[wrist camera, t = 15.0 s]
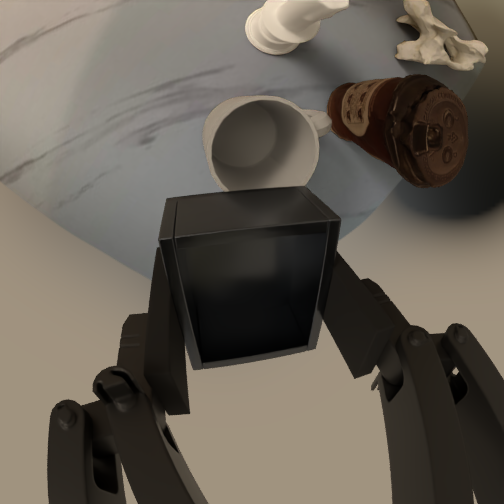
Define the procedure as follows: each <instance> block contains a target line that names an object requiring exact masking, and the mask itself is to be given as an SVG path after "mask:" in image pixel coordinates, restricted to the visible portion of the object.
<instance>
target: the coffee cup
mask: <svg viewBox="0 0 504 504" xmlns="http://www.w3.org/2000/svg"><path fill="white" fill-rule="evenodd" d="M327 114H328V116H329V117H330V118H331V120H332V126H331V131H332V132H333V133H335V134H337V135H338V136H339V138H342V139H344V140H346V141H353V142H354V143H356V144H357V145H359V146H360V147H361V148H362V149H364V150H365V151H366V152H367V153H368V154H370V155H371V156H373V157H375V158H377V159H379V160H381V161H383V162H385V163H387V164H388V165H390V166H391V167H393V168H395V169H396V170H397V172H398V173H399V174H400V175H401V176H402V177H403V178H404V179H405V180H406V181H408V182H410V183H411V184H412V185H414V186H416V187H420V188H428V187H433V188H435V187H440V186H443V185H445V184H447V183H448V182H450V181H451V180H452V179H453V178H454V177H455V176H456V175H457V174H458V172H459V170H460V169H461V167H462V165H463V163H464V159H465V156H466V152H467V147H468V118H467V117H468V116H467V112H466V109H465V106H464V104H463V103H462V101H461V99H460V98H459V97H458V96H457V95H456V94H454V92H453V91H452V90H449V89H448V88H447V87H446V86H445V85H444V84H442V83H440V82H439V81H437V80H435V79H433V78H431V77H430V76H427V75H421V74H413V75H409V76H406V77H405V78H400V77H395V78H387V79H375V80H368V81H362V82H360V83H357V84H356V83H346V84H343V85H341V86H339V87H338V88H337V89H335V90H334V91H333V92H332V94H331V96H330V98H329V101H328V105H327Z"/></svg>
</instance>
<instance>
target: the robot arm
mask: <svg viewBox="0 0 504 504" xmlns="http://www.w3.org/2000/svg"><path fill="white" fill-rule="evenodd" d="M323 320H324V322H325V324H326V326H327V328H328V330H329V331H330V333H331V335H332V337H333V339H334V341H335V343H336V345H337V346H338V348H339V350H340V352H341V354H342V356H343V358H344V360H345V361H346V363H347V365H348V367H349V369H350V371H351V373H352V375H353V377H354V379H356V378H358V377H361V376H364V375H367V374H370V373H371V372H372V370H373V369H374V367H375V365H377V366H378V368H379V370H380V372H379V373H378V375H377V377H376V379H375V380H374V382H373V384H372V386H371V390H374V389H375V388H376V386H377V384H378V390H379V392H380V397H381V402H382V408H383V415H384V421H385V428H386V435H387V443H388V451H389V459H390V471H391V484H392V501H393V504H474V500H473V491H474V494H475V497H476V500H477V503H478V504H504V380H503V378H502V376H501V375H500V373H499V372H498V370H497V368H496V367H495V365H494V364H493V362H492V361H491V359H490V358H489V357H488V355H487V354H486V352H485V351H484V349H483V348H482V346H481V345H480V344H479V342H478V341H477V339H476V338H475V337H474V335H473V334H472V333H471V332H470V330H469V329H468V328H467V327H465V326H464V325H462V324H458V323H455V324H451V325H450V326H449V327H448V329H447V330H446V332H445V333H440V334H429V333H428V332H427V331H426V330H425V329H424V328H421V327H419V326H413V325H410V324H409V323H408V321H407V320H406V319H405V317H404V316H403V315H402V314H401V312H400V311H399V310H398V309H397V307H396V306H395V305H394V304H393V302H392V301H390V299H389V297H388V296H387V295H385V293H384V292H383V290H382V289H381V288H380V286H379V285H378V284H376V283H375V282H373V281H372V280H370V279H369V278H367V279H362V280H360V279H359V277H358V276H357V275H356V274H355V272H354V271H353V270H352V269H351V268H350V266H349V265H348V264H347V263H346V262H345V261H344V259H343V258H342V257H341V256H340V254H339V253H338V252H337V251H336V256H335V262H334V267H333V273H332V278H331V283H330V288H329V293H328V298H327V302H326V307H325V312H324V316H323ZM456 367H457V369H458V371H459V372H458V374H457V375H455V374H453V373H452V371H453V370H454V369H455V368H456ZM93 392H94V393H95V395H96V396H97V397H98V398H99V399H100V400H98V401H95V402H92V403H89V404H85V405H82V406H81V405H80V404H78V403H77V402H75V401H73V400H63V401H61V402H59V403H57V404H56V405H55V407H54V408H53V409H52V412H51V416H50V424H49V437H48V459H47V460H48V461H47V462H48V463H47V467H48V468H47V475H48V476H47V477H48V498H49V504H126V498H125V491H124V484H123V476H122V466H121V462H122V465H123V468H124V471H125V473H126V476H127V479H128V481H129V484H130V486H131V489H132V491H133V493H134V496H135V498H136V500H137V502H138V504H208V502H207V500H206V499H205V497H204V495H203V493H202V492H201V490H200V488H199V487H198V485H197V483H196V481H195V479H194V477H193V476H192V474H191V472H190V470H189V468H188V466H187V464H186V462H185V460H184V458H183V456H182V454H181V452H180V450H179V448H178V446H177V444H176V442H175V439H174V437H173V435H172V432H171V430H170V428H169V426H168V425H167V423H166V418H165V411H166V412H167V414H168V415H181V414H190V409H189V398H188V386H187V375H186V360H185V342H184V339H183V335H182V332H181V329H180V325H179V322H178V318H177V314H176V311H175V307H174V303H173V300H172V296H171V292H170V289H169V285H168V281H167V277H166V273H165V269H164V264H163V260H162V255H161V251H160V247H158V248H157V251H156V257H155V263H154V270H153V277H152V284H151V292H150V300H149V308H148V313H142V314H132V315H129V317H128V318H127V320H126V321H125V323H124V324H123V327H122V334H121V339H120V348H119V353H118V360H117V366H111V367H108V368H106V369H104V370H102V371H101V372H100V373H99V374H98V375H97V376H96V378H95V380H94V382H93Z"/></svg>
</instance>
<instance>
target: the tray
mask: <svg viewBox="0 0 504 504" xmlns="http://www.w3.org/2000/svg"><path fill="white" fill-rule="evenodd" d="M340 225H341V218H340V217H339V216H338V215H337V214H335V213H334V212H333V211H332V210H331V209H330V208H329V207H328V206H327V205H326V204H325V203H323V202H322V201H321V200H320V199H319V198H318V197H317V196H316V195H314V194H313V193H312V192H311V191H310V190H309V189H308V188H306V187H305V186H290V187H274V188H260V189H248V190H236V191H226V192H216V193H207V194H198V195H189V196H181V197H173V198H167V199H166V203H165V207H164V212H163V217H162V222H161V227H160V232H159V238H158V241H159V246H160V251H161V255H162V260H163V264H164V269H165V273H166V277H167V281H168V285H169V289H170V292H171V296H172V300H173V303H174V307H175V311H176V314H177V318H178V322H179V325H180V329H181V332H182V335H183V339H184V342H185V346H186V349H187V353H188V356H189V359H190V362H191V365H192V368H193V370H201V369H203V368H204V369H209V368H217V367H224V366H230V365H237V364H243V363H249V362H255V361H260V360H266V359H271V358H276V357H281V356H286V355H291V354H295V353H300V352H304V351H306V350H307V351H309V350H313V349H316V345H317V341H318V337H319V333H320V329H321V325H322V320H323V316H324V312H325V307H326V302H327V298H328V293H329V288H330V283H331V278H332V273H333V267H334V262H335V256H336V250H337V244H338V238H339V232H340Z"/></svg>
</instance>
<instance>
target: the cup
mask: <svg viewBox="0 0 504 504" xmlns="http://www.w3.org/2000/svg"><path fill="white" fill-rule="evenodd" d="M331 126H332V120H331V118H330V117H329V116H328V114H327V113H325V112H323V111H317V110H302V109H301V108H299V107H298V106H297V105H295V104H294V103H292V102H291V101H288V100H285V99H283V98H280V97H276V96H262V95H260V96H240V97H235V98H231V99H228V100H226V101H224V102H222V103H220V104H219V105H218V106H217V107H215V108H214V109H213V110H212V111H211V113H210V114H209V116H208V117H207V119H206V121H205V124H204V128H203V145H204V149H205V153H206V157H207V161H208V165H209V168H210V172H211V175H212V176H213V178H214V179H215V181H216V183H217V184H218V186H219V187H220V188H221V189H222V190H223V191H224V192H226V191H236V190H248V189H260V188H274V187H290V186H305V185H306V183H307V182H308V181H309V179H310V178H311V176H312V175H313V173H314V170H315V168H316V165H317V162H318V156H319V141H318V138H320V137H322V136H323V135H325V134H327V133H328V132H329V131H330V130H331Z"/></svg>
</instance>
